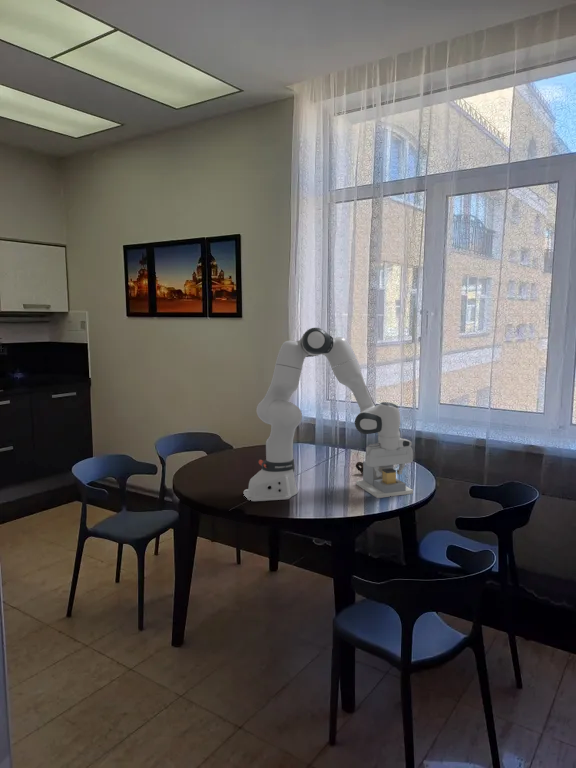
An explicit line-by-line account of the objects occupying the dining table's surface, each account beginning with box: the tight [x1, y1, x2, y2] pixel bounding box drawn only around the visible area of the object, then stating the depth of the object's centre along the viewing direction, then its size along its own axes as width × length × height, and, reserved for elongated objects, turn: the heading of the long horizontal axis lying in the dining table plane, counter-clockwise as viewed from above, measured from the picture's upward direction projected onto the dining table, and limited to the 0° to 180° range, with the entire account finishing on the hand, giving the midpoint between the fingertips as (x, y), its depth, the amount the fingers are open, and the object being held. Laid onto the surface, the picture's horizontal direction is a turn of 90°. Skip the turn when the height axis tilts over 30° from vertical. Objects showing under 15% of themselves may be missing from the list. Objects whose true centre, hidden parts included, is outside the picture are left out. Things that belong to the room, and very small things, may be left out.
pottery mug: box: [355, 461, 363, 474], centre depth 242 cm, size 12×10×8 cm
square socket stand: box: [355, 460, 414, 499], centre depth 221 cm, size 16×20×10 cm
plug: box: [382, 468, 397, 484], centre depth 216 cm, size 4×4×8 cm
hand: (389, 475), depth 216 cm, fingers open, 8 cm apart
